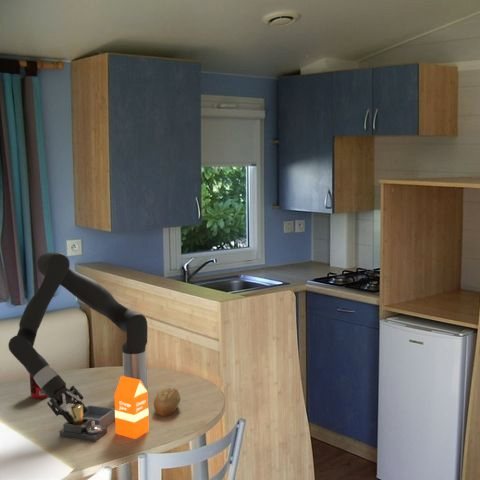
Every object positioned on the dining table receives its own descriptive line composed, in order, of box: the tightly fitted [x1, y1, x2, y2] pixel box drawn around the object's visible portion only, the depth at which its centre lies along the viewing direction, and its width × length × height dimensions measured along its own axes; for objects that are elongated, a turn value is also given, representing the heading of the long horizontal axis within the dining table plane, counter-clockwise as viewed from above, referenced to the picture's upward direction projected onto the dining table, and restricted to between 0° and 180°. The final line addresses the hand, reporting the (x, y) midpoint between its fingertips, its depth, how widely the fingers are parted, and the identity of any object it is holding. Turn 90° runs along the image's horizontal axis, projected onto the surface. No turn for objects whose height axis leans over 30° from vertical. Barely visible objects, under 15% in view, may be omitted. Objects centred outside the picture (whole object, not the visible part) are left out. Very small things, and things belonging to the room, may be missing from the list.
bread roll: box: [153, 388, 182, 417], centre depth 273 cm, size 10×15×8 cm, turn 175°
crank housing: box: [58, 418, 108, 443], centre depth 251 cm, size 8×14×6 cm, turn 69°
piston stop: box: [70, 404, 84, 426], centre depth 252 cm, size 4×4×8 cm
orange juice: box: [113, 375, 150, 440], centre depth 252 cm, size 8×9×20 cm
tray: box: [83, 404, 115, 427], centre depth 262 cm, size 12×12×4 cm
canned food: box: [29, 374, 48, 400], centre depth 289 cm, size 8×8×11 cm
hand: (78, 416), depth 251 cm, fingers open, 8 cm apart
